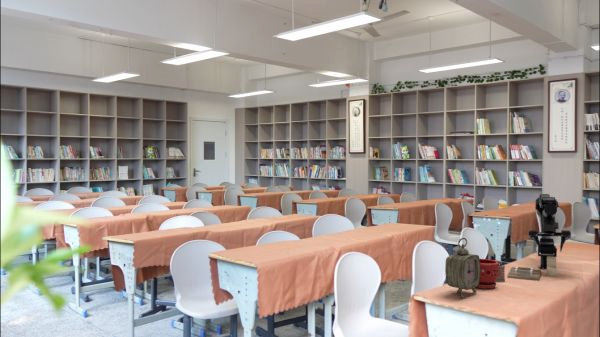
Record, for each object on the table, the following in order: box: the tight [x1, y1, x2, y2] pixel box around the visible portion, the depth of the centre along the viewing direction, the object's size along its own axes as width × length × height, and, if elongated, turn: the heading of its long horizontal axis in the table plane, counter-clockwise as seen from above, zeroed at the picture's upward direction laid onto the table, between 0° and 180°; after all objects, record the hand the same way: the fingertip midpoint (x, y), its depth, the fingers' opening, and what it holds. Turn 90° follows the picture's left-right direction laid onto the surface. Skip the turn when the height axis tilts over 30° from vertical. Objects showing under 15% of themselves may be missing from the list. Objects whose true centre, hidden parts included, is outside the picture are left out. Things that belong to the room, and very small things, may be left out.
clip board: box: [507, 266, 542, 282], centre depth 246 cm, size 20×14×4 cm
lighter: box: [488, 259, 506, 283], centre depth 234 cm, size 8×3×10 cm, turn 84°
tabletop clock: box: [444, 237, 481, 299], centre depth 213 cm, size 14×9×25 cm, turn 131°
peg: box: [546, 256, 557, 277], centre depth 243 cm, size 4×4×9 cm
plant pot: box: [475, 258, 500, 289], centre depth 226 cm, size 13×13×12 cm
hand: (550, 251), depth 241 cm, fingers open, 9 cm apart
